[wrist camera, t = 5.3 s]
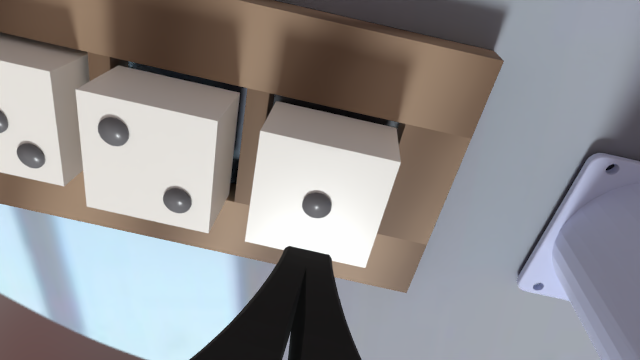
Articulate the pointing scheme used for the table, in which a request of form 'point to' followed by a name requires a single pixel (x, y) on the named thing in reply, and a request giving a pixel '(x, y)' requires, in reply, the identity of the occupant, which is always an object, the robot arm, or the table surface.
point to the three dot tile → (40, 109)
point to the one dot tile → (321, 182)
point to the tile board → (263, 83)
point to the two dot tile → (157, 146)
